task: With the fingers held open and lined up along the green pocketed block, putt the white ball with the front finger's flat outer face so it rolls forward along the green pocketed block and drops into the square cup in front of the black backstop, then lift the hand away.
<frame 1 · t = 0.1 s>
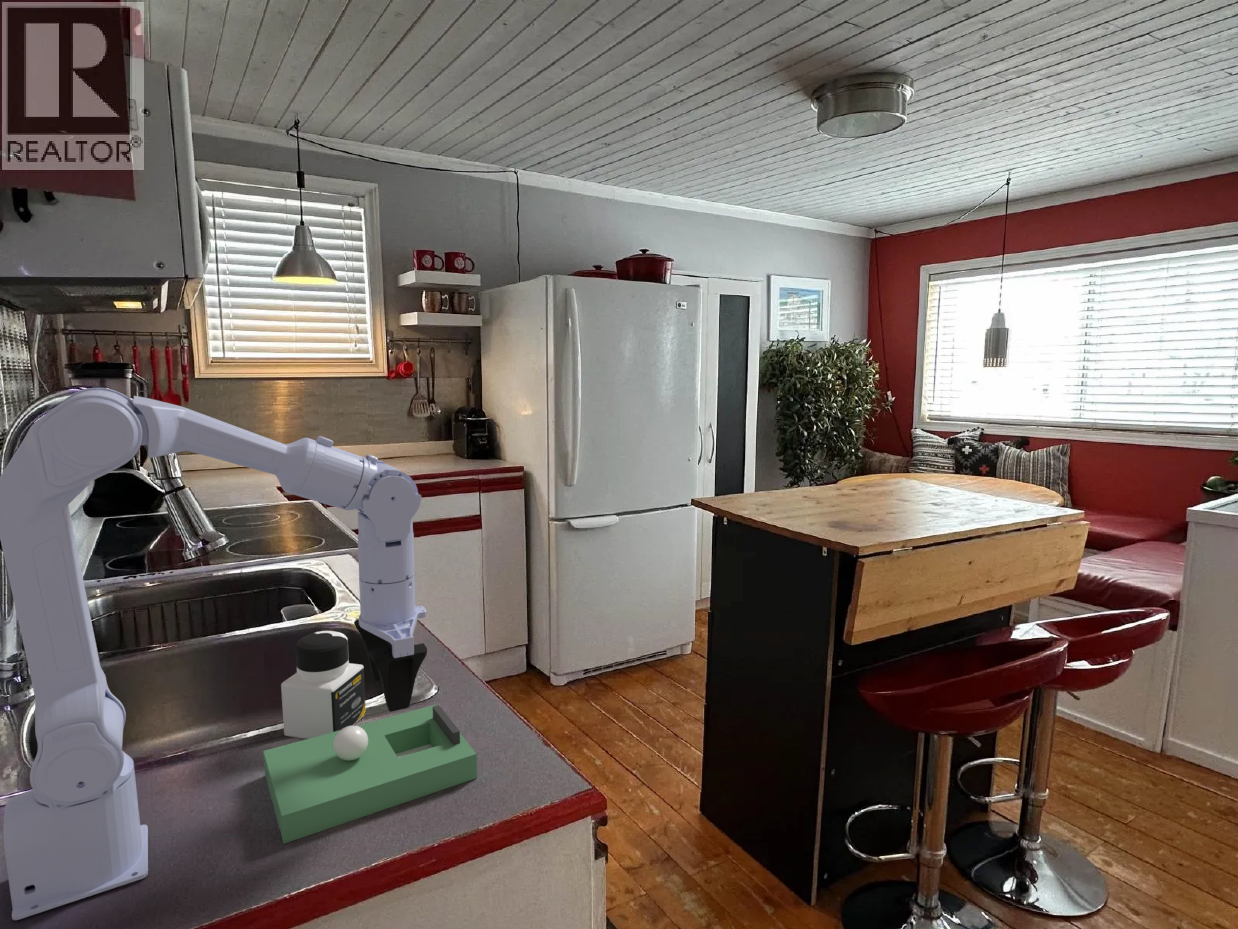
hand: (390, 692, 78), 10 cm above the counter, tool pointing down, fingers open, 7 cm apart
green pocketed block: (371, 776, 79), on the counter
medicine bottle: (326, 727, 90), on the counter
ball: (350, 743, 77), point 5 cm above the counter, touching green pocketed block
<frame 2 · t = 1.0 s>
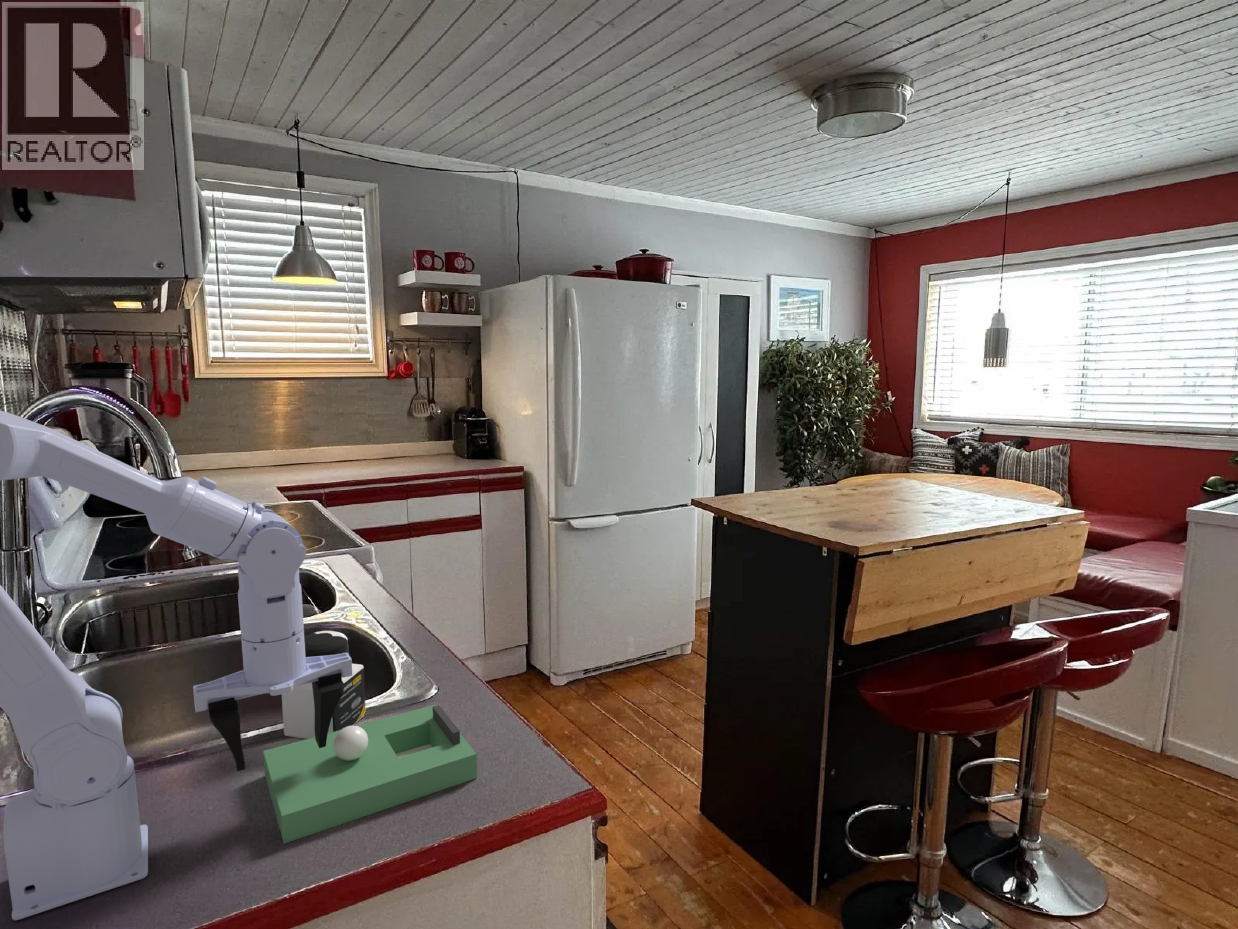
hand: (281, 754, 73), 6 cm above the counter, tool pointing down, fingers open, 7 cm apart
nothing on the counter moved.
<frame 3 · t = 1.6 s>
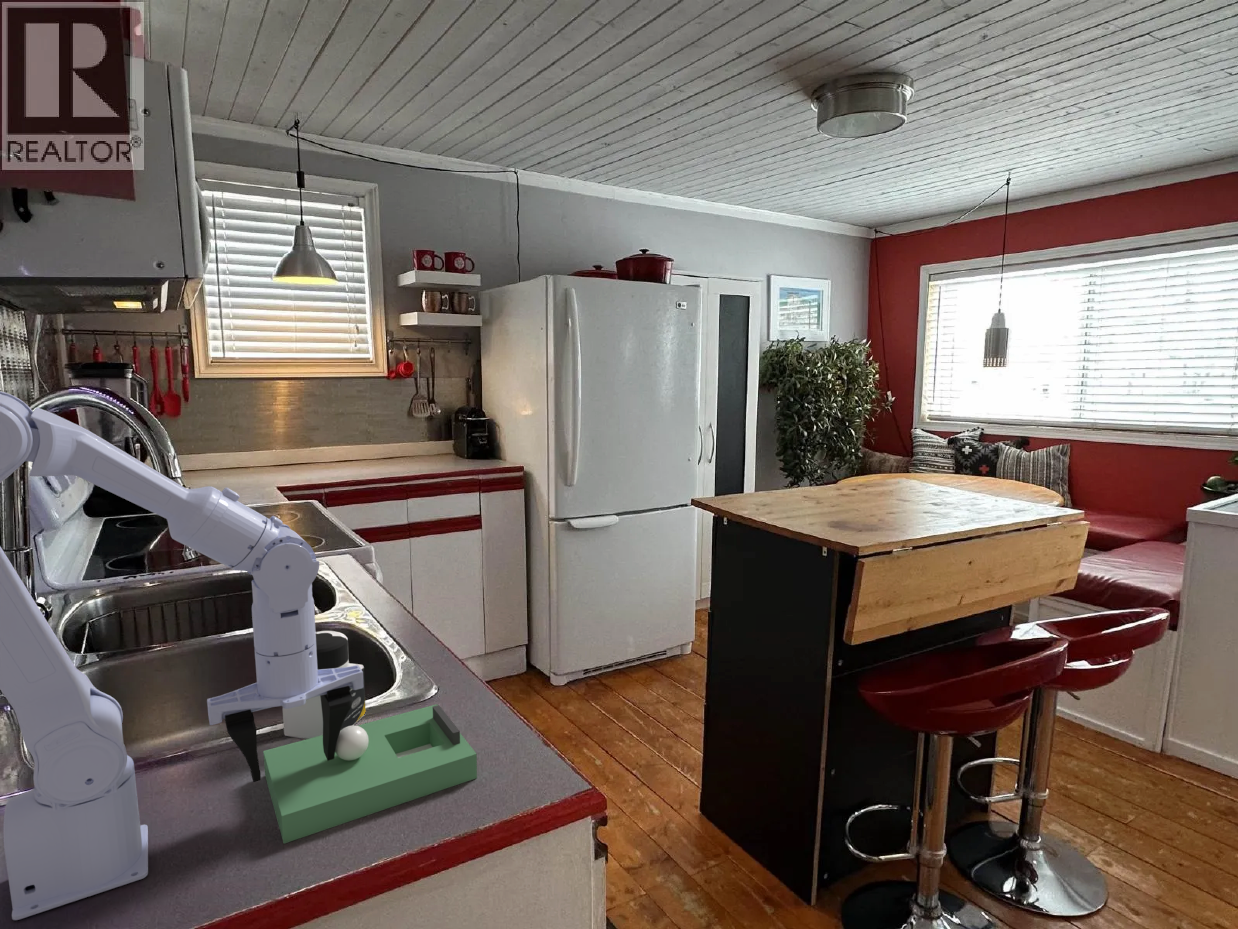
hand: (293, 765, 74), 4 cm above the counter, tool pointing down, fingers open, 6 cm apart
ball: (351, 742, 77), point 5 cm above the counter, touching gripper, green pocketed block
everything else where it was.
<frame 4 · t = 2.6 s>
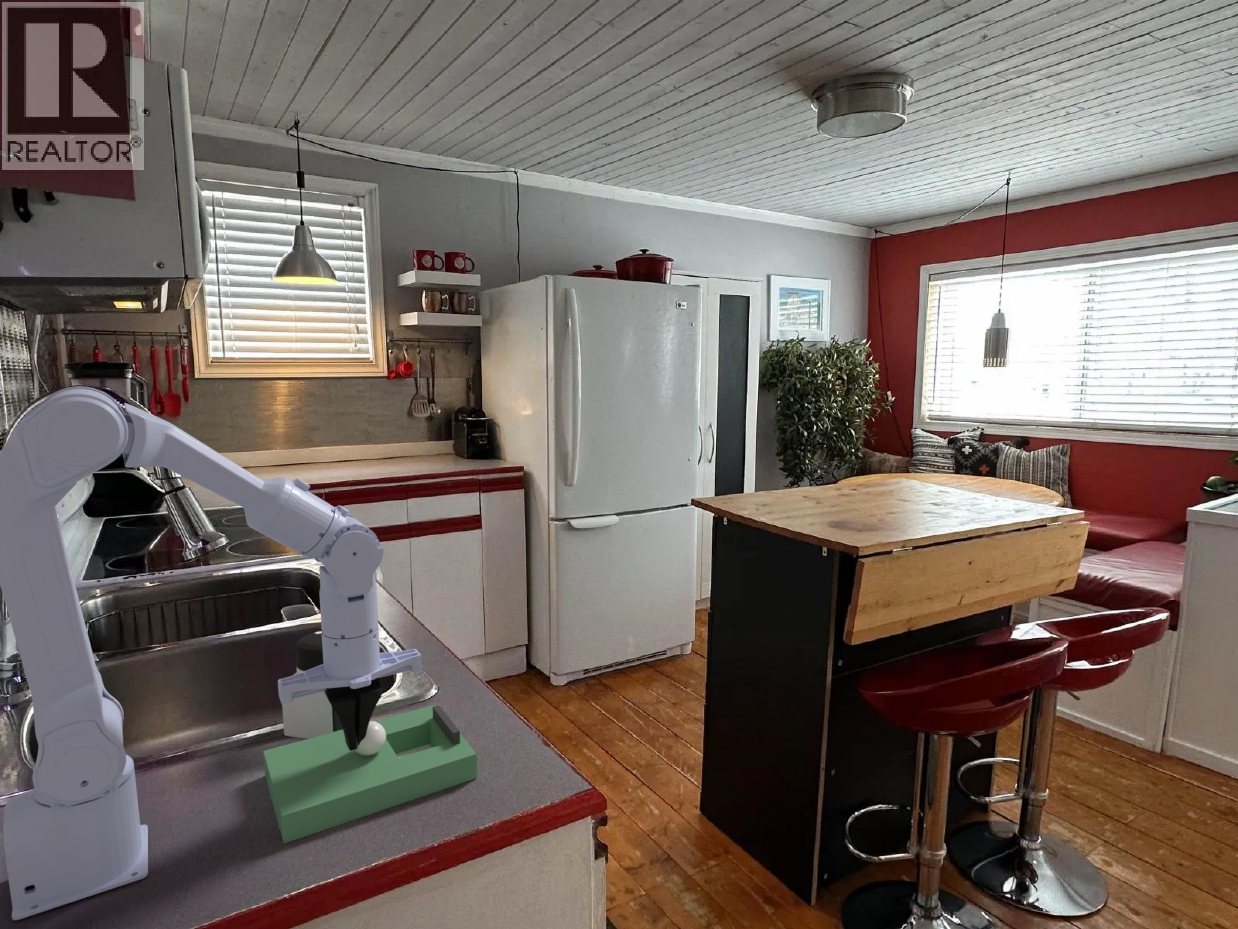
hand: (356, 744, 78), 4 cm above the counter, tool pointing down, fingers closed, pressing on ball
ball: (369, 738, 78), point 5 cm above the counter, tilted 63°, touching gripper, green pocketed block
everything else where it was.
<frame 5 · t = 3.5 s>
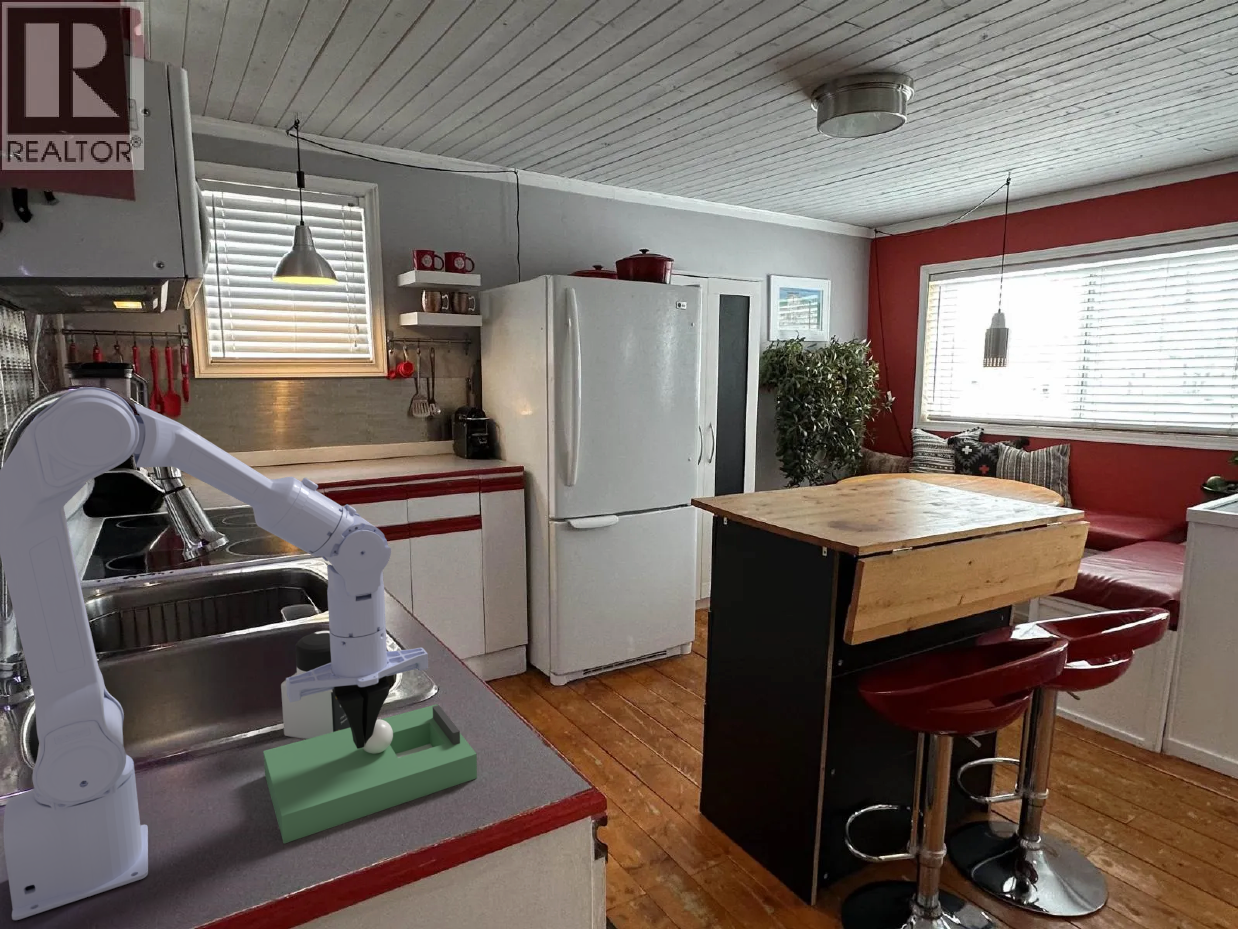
hand: (363, 742, 78), 4 cm above the counter, tool pointing down, fingers closed, pressing on ball
ball: (376, 736, 79), point 5 cm above the counter, tilted 88°, touching gripper, green pocketed block
everything else where it was.
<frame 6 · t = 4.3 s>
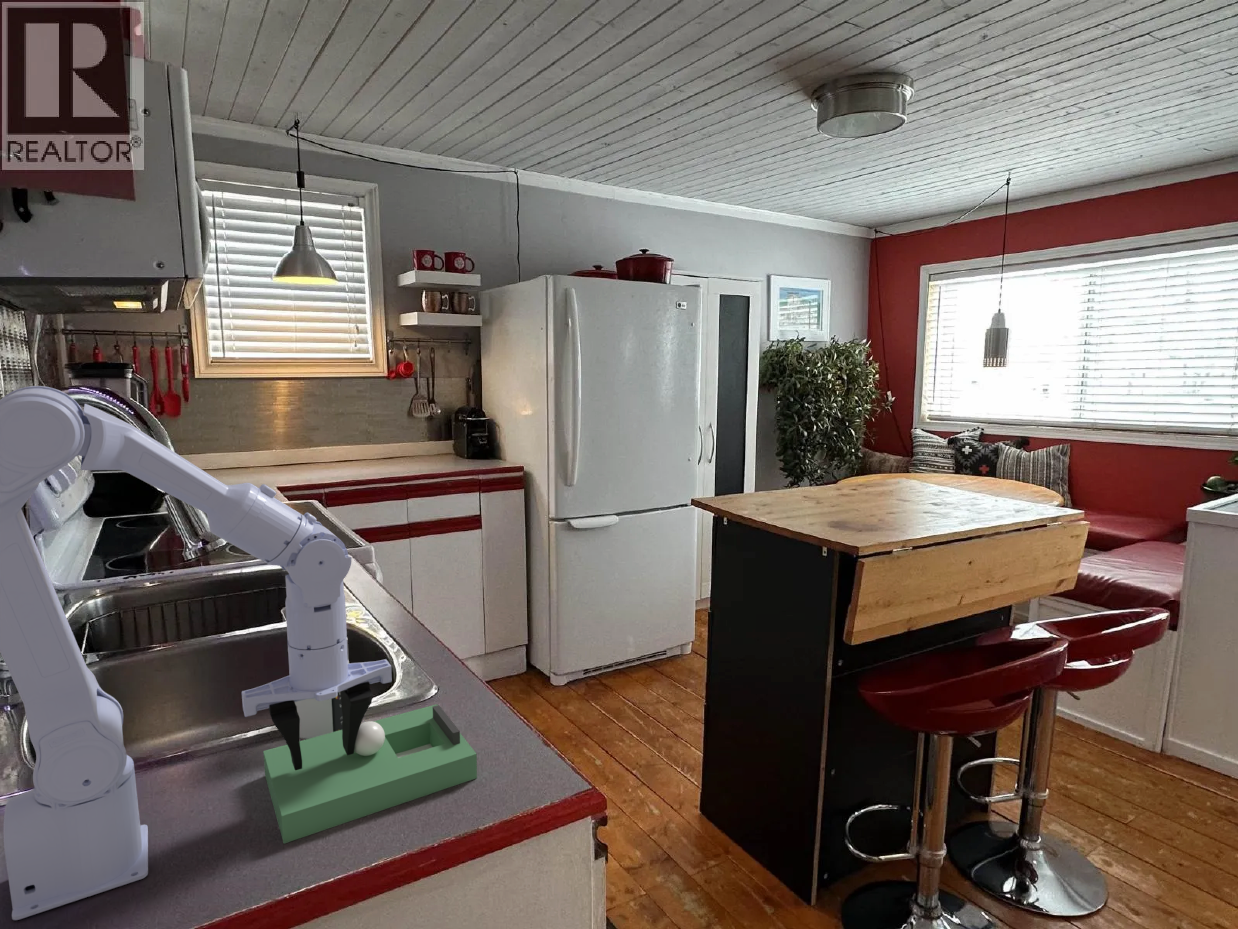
hand: (323, 757, 76), 4 cm above the counter, tool pointing down, fingers open, 5 cm apart
ball: (367, 738, 78), point 5 cm above the counter, tilted 59°, touching gripper, green pocketed block
everything else where it was.
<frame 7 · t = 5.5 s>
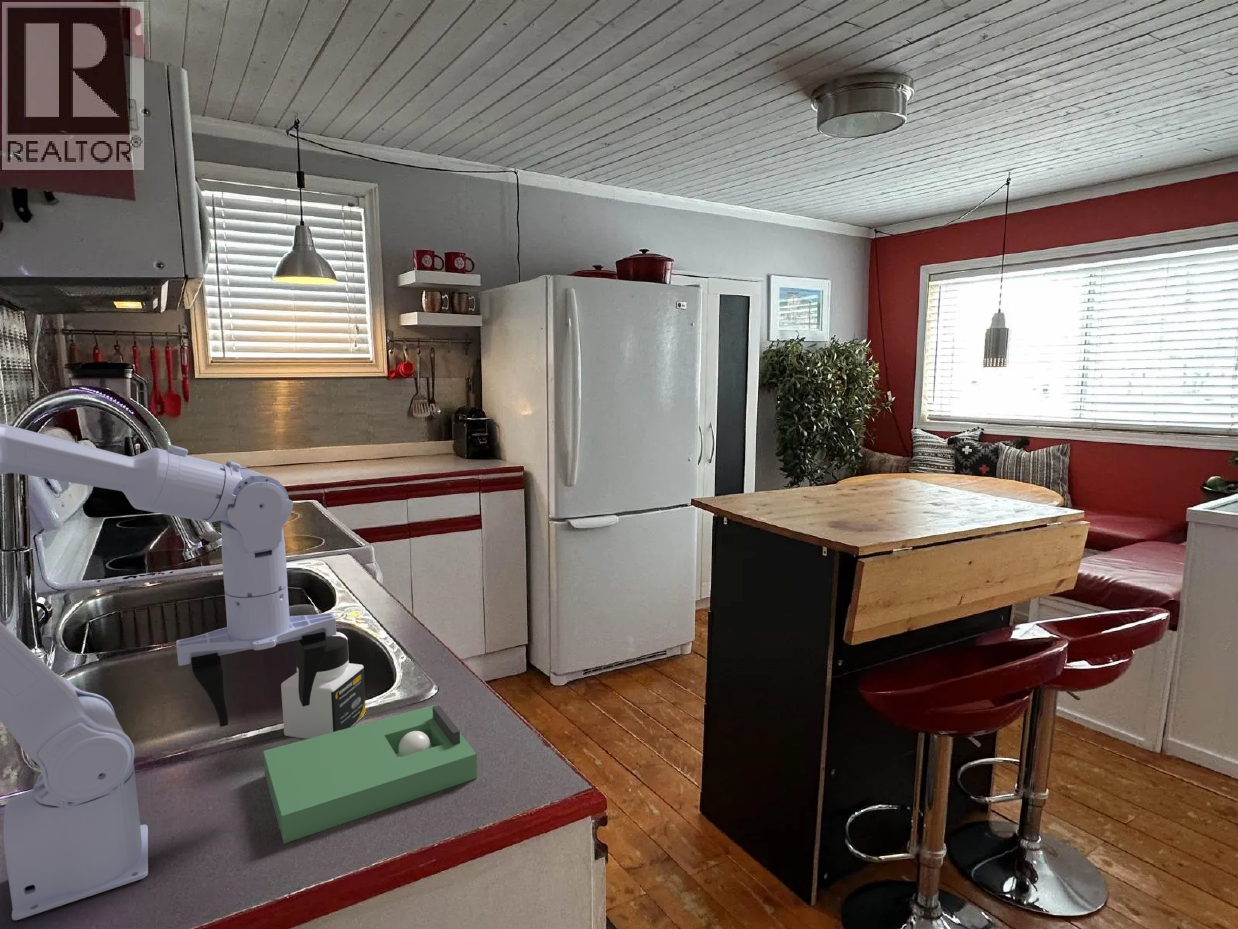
hand: (265, 711, 74), 10 cm above the counter, tool pointing down, fingers open, 7 cm apart
ball: (414, 747, 82), point 2 cm above the counter, tilted 115°, touching green pocketed block
everything else where it was.
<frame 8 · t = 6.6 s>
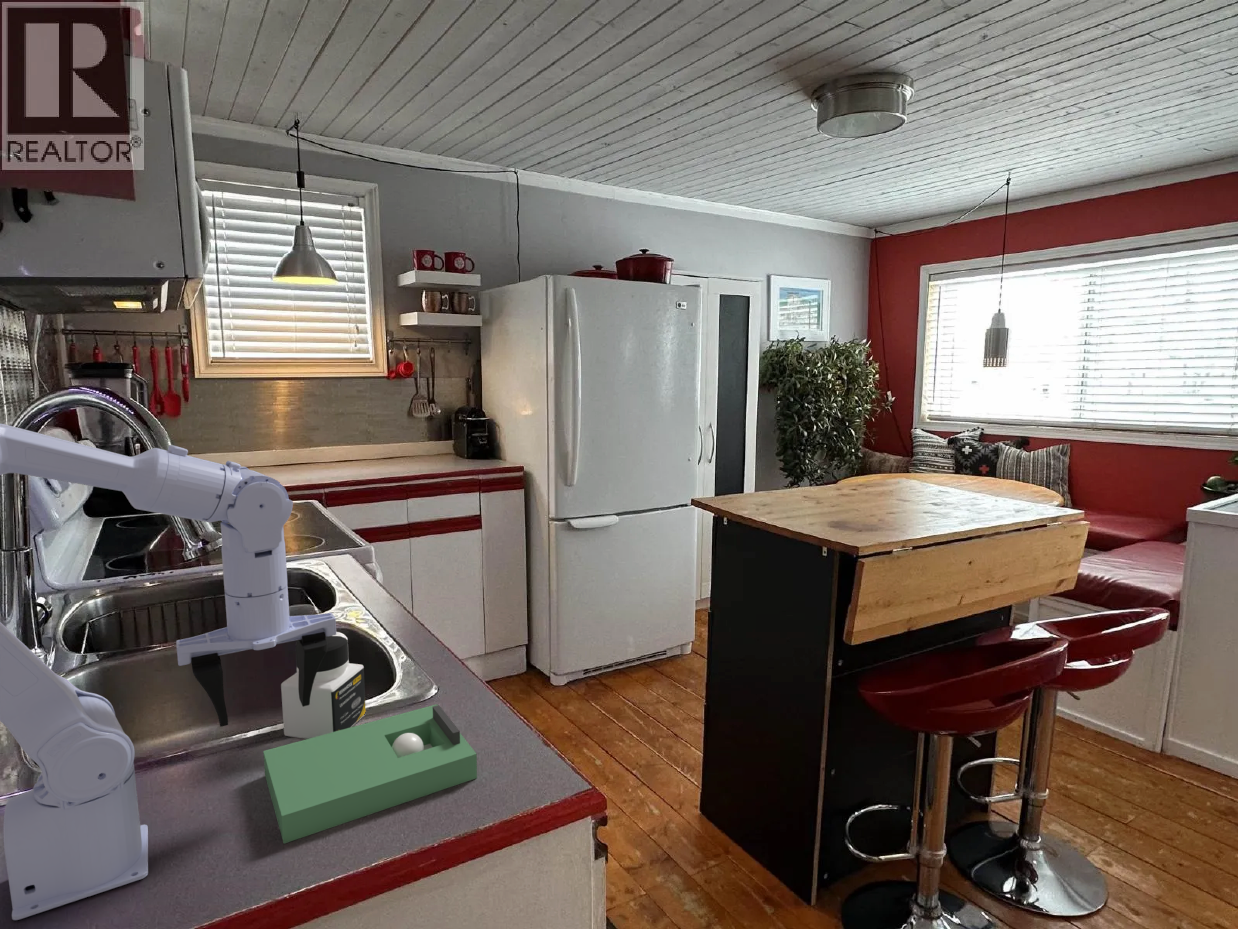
hand: (265, 711, 74), 10 cm above the counter, tool pointing down, fingers open, 7 cm apart
ball: (407, 749, 81), point 2 cm above the counter, tilted 142°, touching green pocketed block
everything else where it was.
at the end: ball 0.8 cm from the target spot on the green pocketed block, point 2.0 cm above the green pocketed block's base; ball point 2.0 cm above the counter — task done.
